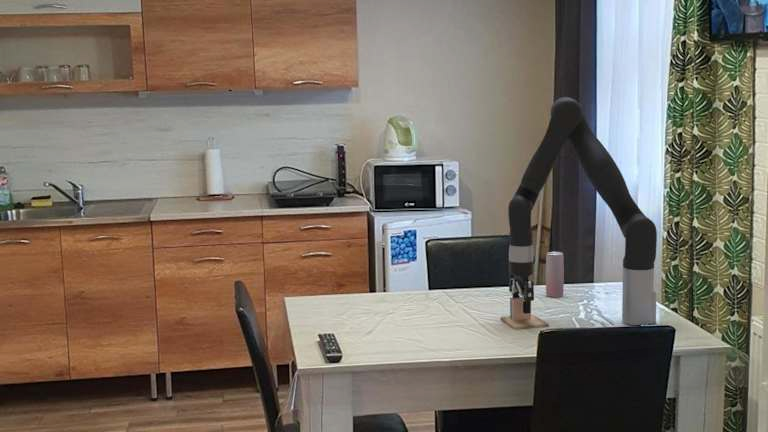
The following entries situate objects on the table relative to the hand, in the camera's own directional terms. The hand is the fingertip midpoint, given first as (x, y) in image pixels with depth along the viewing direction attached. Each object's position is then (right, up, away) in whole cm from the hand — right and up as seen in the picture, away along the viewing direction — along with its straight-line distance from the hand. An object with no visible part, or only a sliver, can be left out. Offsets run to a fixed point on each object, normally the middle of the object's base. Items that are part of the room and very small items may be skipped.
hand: (521, 310), depth 295 cm
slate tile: (0, -3, 0) cm, 3 cm away
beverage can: (+16, +1, +33) cm, 37 cm away
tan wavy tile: (+1, -4, -2) cm, 4 cm away
